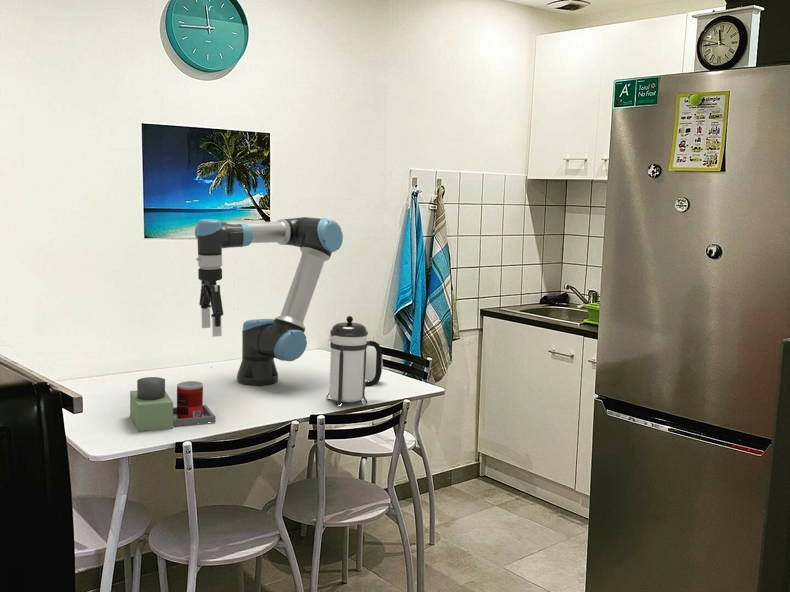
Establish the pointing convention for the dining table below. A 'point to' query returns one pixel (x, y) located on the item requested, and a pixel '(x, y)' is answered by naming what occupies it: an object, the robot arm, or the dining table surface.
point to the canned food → (189, 399)
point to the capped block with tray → (158, 407)
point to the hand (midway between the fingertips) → (211, 331)
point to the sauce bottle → (371, 363)
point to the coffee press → (350, 362)
